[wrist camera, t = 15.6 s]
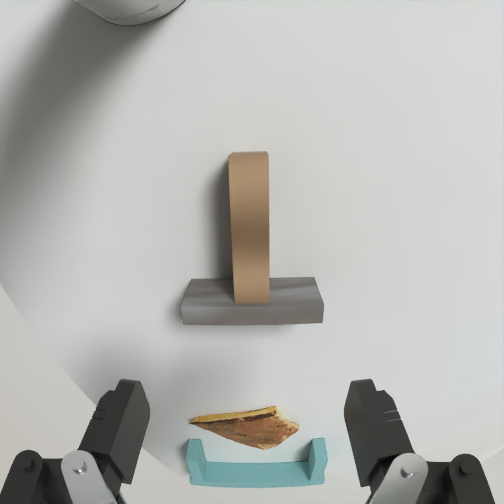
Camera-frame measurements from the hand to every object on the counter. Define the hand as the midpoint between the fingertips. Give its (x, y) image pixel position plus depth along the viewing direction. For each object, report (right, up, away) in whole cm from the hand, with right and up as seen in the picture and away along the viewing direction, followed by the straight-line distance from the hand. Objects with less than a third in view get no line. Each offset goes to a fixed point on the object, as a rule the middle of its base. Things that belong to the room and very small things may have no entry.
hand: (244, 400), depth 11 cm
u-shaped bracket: (+1, -21, +24) cm, 32 cm away
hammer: (0, +8, +13) cm, 15 cm away
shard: (0, -15, +23) cm, 27 cm away
